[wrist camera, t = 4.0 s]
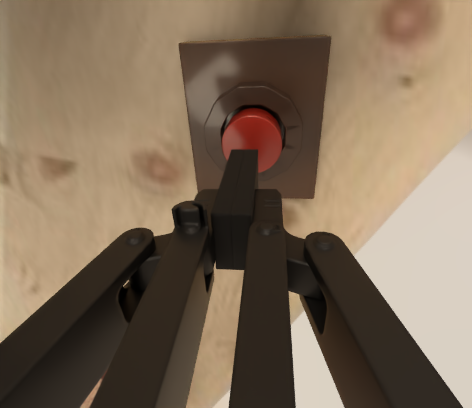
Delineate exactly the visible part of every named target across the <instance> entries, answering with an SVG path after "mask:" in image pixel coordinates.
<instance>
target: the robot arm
mask: <svg viewBox="0 0 472 408" xmlns="http://www.w3.org/2000/svg"><path fill="white" fill-rule="evenodd" d="M172 214H173V219H174V225H175V228H174V230H173V232H172V233H170V234H166V235H160V236H155V237H154V235H153V232H152V231H151V230H149V229H147V228H134V229H131V230H128V231H126V232H124V233H123V234H121V235H120V236H119V237H118V238H117V239H116V240H115V241H113V242H112V243H111V244H110V245H109V246H108V247H107V248H106V249H105V250H103V251H102V252H101V253H100V254H99V255H98V256H97V257H96V258H95V259H93V260H92V261H91V262H90V263H89V264H88V265H87V266H86V267H85V268H83V269H82V270H81V271H80V272H79V273H78V274H77V275H76V276H75V277H73V278H72V279H71V280H70V281H69V282H68V283H67V284H66V285H65V286H63V287H62V288H61V289H60V290H59V291H58V292H57V293H56V294H55V295H53V296H52V297H51V298H50V299H49V300H48V301H47V302H46V303H45V304H43V305H42V306H41V307H40V308H39V309H38V310H37V311H36V312H35V313H33V314H32V315H31V316H30V317H29V318H28V319H27V320H26V321H25V322H23V323H22V324H21V325H20V326H19V327H18V328H17V329H16V330H15V331H13V332H12V333H11V334H10V335H9V336H8V337H7V338H6V339H5V340H3V341H2V342H1V343H0V408H80V407H81V405H82V404H83V403H84V401H85V400H86V398H87V397H88V396H89V394H90V393H91V391H92V390H93V389H94V387H95V386H96V384H97V383H98V382H99V380H100V379H101V378H102V376H103V375H104V373H105V372H106V371H107V372H106V374H105V376H104V378H103V380H102V383H101V385H100V387H99V389H98V391H97V393H96V395H95V397H94V399H93V402H92V404H91V406H90V408H186V404H187V399H188V395H189V390H190V386H191V381H192V377H193V372H194V368H195V363H196V359H197V354H198V350H199V345H200V341H201V336H202V332H203V327H204V323H205V318H206V313H207V309H208V304H209V300H210V295H211V291H212V286H213V282H214V269H213V268H214V264H215V262H216V269H231V270H244V277H243V286H242V295H241V304H240V312H239V321H238V330H237V339H236V347H235V356H234V365H233V374H232V382H231V391H230V400H229V408H295V407H296V406H295V391H294V374H293V358H292V341H291V325H290V309H289V292H288V291H291V292H294V293H297V294H299V295H300V300H301V302H302V305H303V307H304V310H305V312H306V314H307V317H308V319H309V322H310V324H311V326H312V329H313V332H314V334H315V336H316V339H317V341H318V344H319V346H320V348H321V351H322V353H323V356H324V358H325V361H326V363H327V366H328V368H329V371H330V373H331V375H332V378H333V380H334V383H335V385H336V387H337V390H338V392H339V395H340V397H341V400H342V402H343V405H344V407H345V408H463V407H462V405H461V404H460V403H459V401H458V400H457V398H456V397H455V396H454V394H453V393H452V392H451V390H450V389H449V387H448V386H447V385H446V383H445V382H444V380H443V379H442V378H441V376H440V375H439V374H438V372H437V371H436V370H435V368H434V367H433V366H432V364H431V363H430V361H429V360H428V359H427V357H426V356H425V354H424V353H423V352H422V350H421V349H420V347H419V346H418V345H417V343H416V342H415V340H414V339H413V338H412V336H411V335H410V334H409V332H408V331H407V329H406V328H405V327H404V325H403V324H402V322H401V321H400V320H399V318H398V317H397V316H396V314H395V313H394V311H393V310H392V309H391V307H390V306H389V304H388V303H387V302H386V300H385V299H384V298H383V296H382V295H381V293H380V292H379V291H378V289H377V288H376V286H375V285H374V284H373V282H372V281H371V280H370V278H369V277H368V275H367V274H366V273H365V271H364V270H363V269H362V267H361V266H360V264H359V263H358V262H357V260H356V259H355V258H354V256H353V255H352V253H351V252H350V251H349V249H348V248H347V246H346V245H345V244H344V242H343V241H342V240H341V239H340V238H339V237H338V236H336V235H334V234H332V233H327V232H314V233H311V234H309V235H308V236H306V238H305V239H302V238H298V237H295V236H293V235H291V234H289V233H288V232H287V231H286V230H285V229H284V227H283V216H282V199H281V194H280V192H279V191H278V190H277V189H258V149H231V152H230V155H229V158H228V161H227V164H226V167H225V171H224V174H223V177H222V180H221V183H220V186H219V189H203V190H201V191H200V192H199V193H198V194H197V195H196V197H195V200H194V201H185V202H181V203H179V204H177V205H175V206H174V207H173V208H172ZM128 280H129V282H128V283H127V284H126V285H125V286H124V287H123V285H124V284H125V283H126V282H127V281H128ZM107 369H108V370H107Z"/></svg>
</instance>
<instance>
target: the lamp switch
mask: <svg viewBox="0 0 472 408" xmlns="http://www.w3.org/2000/svg"><path fill="white" fill-rule="evenodd" d="M231 149H258V173H260V172H263V171H265V170H267V169H269V168H270V167H272V166H273V165H274V164H275V163H276V161H277V160H278V158H279V157H280V154H281V151H282V136H281V129H280V126H279V124H278V122H277V120H276V119H275V118H274V117H273V116H272V115H271V114H270V113H268V112H267V111H265V110H262V109H258V108H248V109H244V110H242V111H240V112H238V113H237V114H235V115H234V116H233V117H232V118H231V119H230V121H229V123H228V125H227V127H226V129H225V132H224V134H223V137H222V151H223V154H224V156H225V158H226V160H227V161H228V158H229V155H230V152H231Z"/></svg>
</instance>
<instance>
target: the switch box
mask: <svg viewBox="0 0 472 408" xmlns="http://www.w3.org/2000/svg"><path fill="white" fill-rule="evenodd" d="M330 44H331V36H328V35H312V36H291V37H271V38H251V39H231V40H211V41H190V42H183V43H179V51H180V59H181V66H182V74H183V82H184V89H185V97H186V104H187V112H188V120H189V127H190V135H191V143H192V150H193V158H194V166H195V173H196V181H197V189H198V193H199V192H200V191H201V190H203V189H219V186H220V183H221V180H222V177H223V174H224V171H225V167H226V164H227V160H226V158H225V156H224V154H223V151H222V137H223V134H224V132H225V129H226V127H227V125H228V123H229V121H230V119H231V118H232V117H233V116H234V115H235V114H237V113H238V112H240V111H242V110H244V109H248V108H258V109H262V110H265V111H267V112H268V113H270V114H271V115H272V116H273V117H274V118H275V119H276V120H277V122H278V124H279V126H280V129H281V136H282V151H281V154H280V157H279V158H278V160H277V161H276V163H275V164H274V165H273V166H272V167H270V168H269V169H267V170H265V171H263V172H260V173H258V189H277V190H278V191H279V192H280V194H281V198H302V199H313V198H314V193H315V184H316V174H317V165H318V156H319V146H320V137H321V128H322V119H323V109H324V100H325V91H326V81H327V72H328V63H329V53H330Z"/></svg>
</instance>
